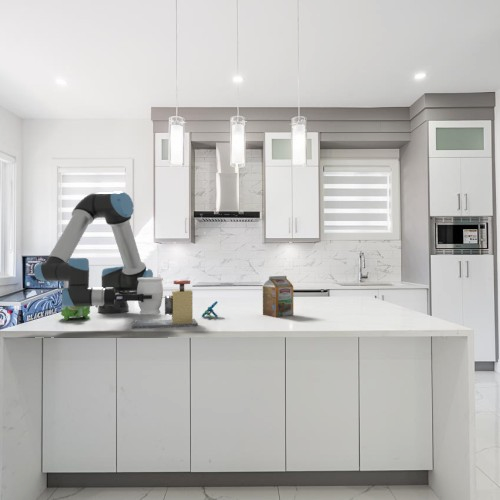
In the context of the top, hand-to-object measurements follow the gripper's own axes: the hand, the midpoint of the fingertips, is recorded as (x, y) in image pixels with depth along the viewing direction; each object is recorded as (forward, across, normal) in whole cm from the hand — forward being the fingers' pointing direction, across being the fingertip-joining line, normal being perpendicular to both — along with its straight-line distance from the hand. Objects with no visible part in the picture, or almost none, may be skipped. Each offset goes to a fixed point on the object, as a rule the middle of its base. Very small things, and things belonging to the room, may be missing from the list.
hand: (160, 295), depth 164 cm
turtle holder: (-37, -26, -12) cm, 47 cm away
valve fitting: (+3, 0, -12) cm, 13 cm away
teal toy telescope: (+23, -16, -12) cm, 30 cm away
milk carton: (+56, -13, -12) cm, 59 cm away
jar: (-4, 0, -8) cm, 9 cm away
